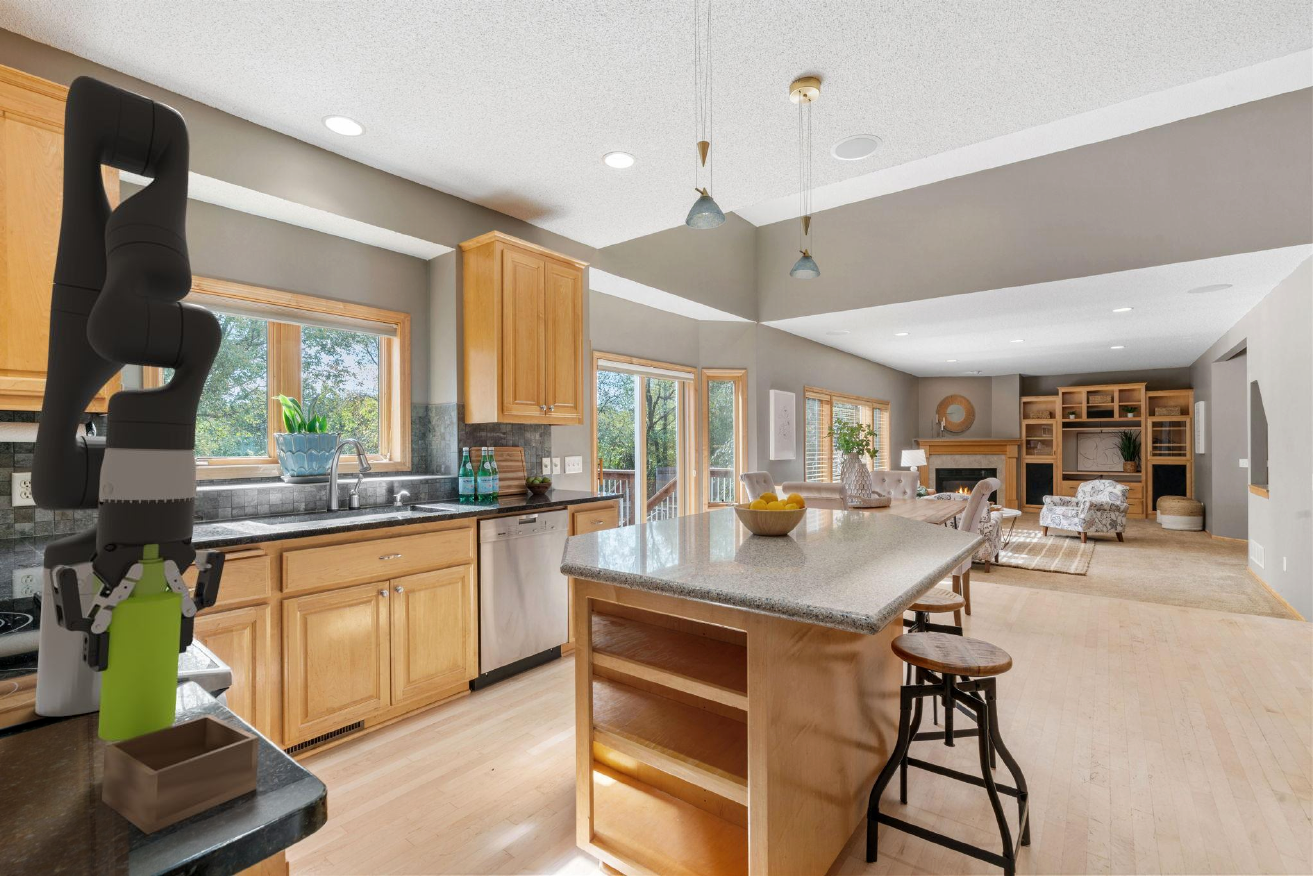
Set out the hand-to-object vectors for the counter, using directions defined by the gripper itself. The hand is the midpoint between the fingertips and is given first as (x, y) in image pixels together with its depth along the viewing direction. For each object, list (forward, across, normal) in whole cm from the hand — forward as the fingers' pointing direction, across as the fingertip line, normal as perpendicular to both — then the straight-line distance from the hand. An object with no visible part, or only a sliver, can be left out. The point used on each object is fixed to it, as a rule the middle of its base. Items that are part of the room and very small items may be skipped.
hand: (139, 660), depth 62 cm
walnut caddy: (+10, 0, +10) cm, 14 cm away
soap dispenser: (+7, 0, 0) cm, 7 cm away
